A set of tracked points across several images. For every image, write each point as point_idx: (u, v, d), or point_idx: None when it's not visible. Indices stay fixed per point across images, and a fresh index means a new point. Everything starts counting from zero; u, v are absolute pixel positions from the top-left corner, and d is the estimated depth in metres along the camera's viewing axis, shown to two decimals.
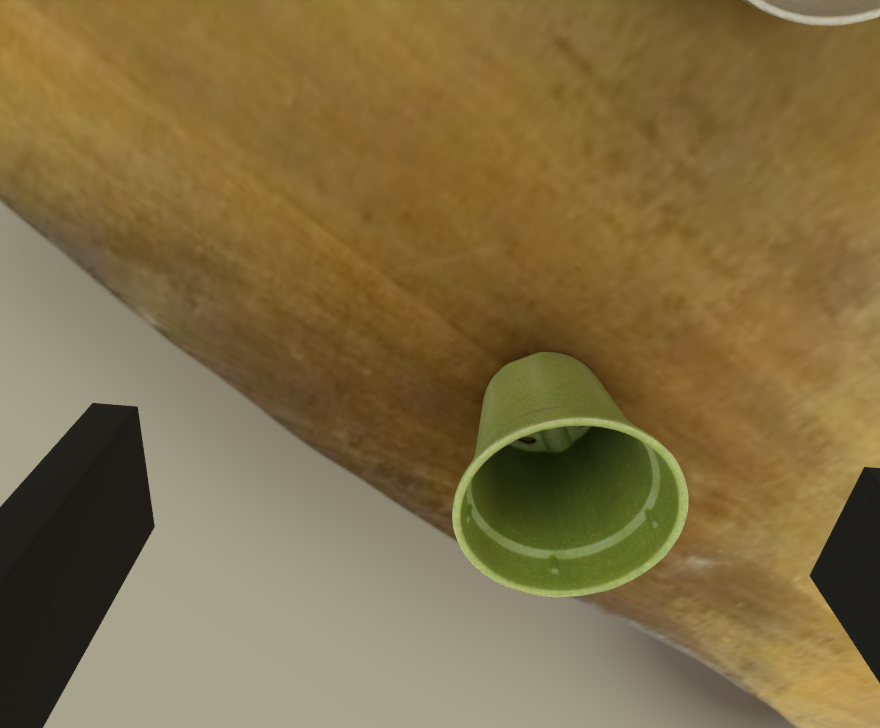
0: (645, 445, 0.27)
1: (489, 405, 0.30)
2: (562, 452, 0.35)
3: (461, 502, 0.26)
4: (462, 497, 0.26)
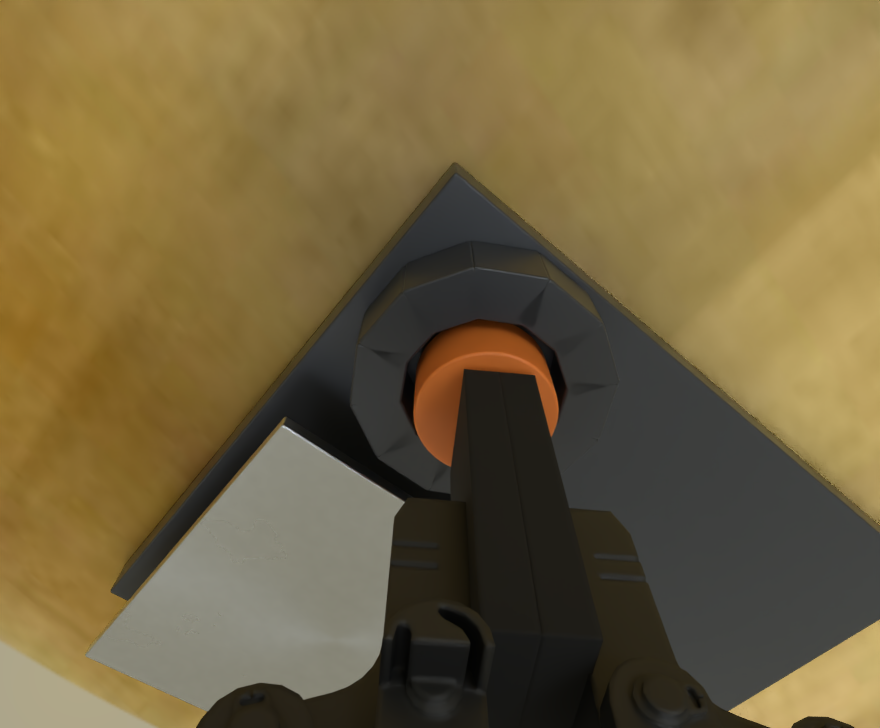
0: None
1: None
2: None
3: None
4: None
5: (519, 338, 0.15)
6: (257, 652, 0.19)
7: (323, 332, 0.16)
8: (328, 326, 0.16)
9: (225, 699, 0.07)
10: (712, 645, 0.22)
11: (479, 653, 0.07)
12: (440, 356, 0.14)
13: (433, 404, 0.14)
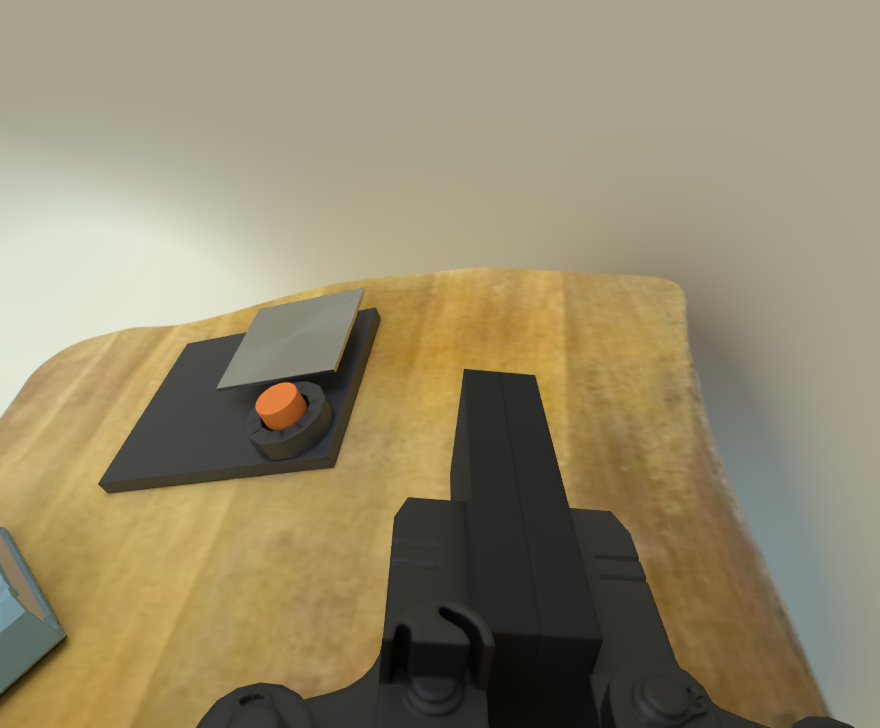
0: None
1: None
2: None
3: None
4: None
5: (279, 423, 0.46)
6: (314, 318, 0.55)
7: (344, 403, 0.49)
8: (343, 405, 0.49)
9: (225, 699, 0.07)
10: (167, 418, 0.55)
11: (479, 653, 0.07)
12: (296, 403, 0.46)
13: (291, 390, 0.46)
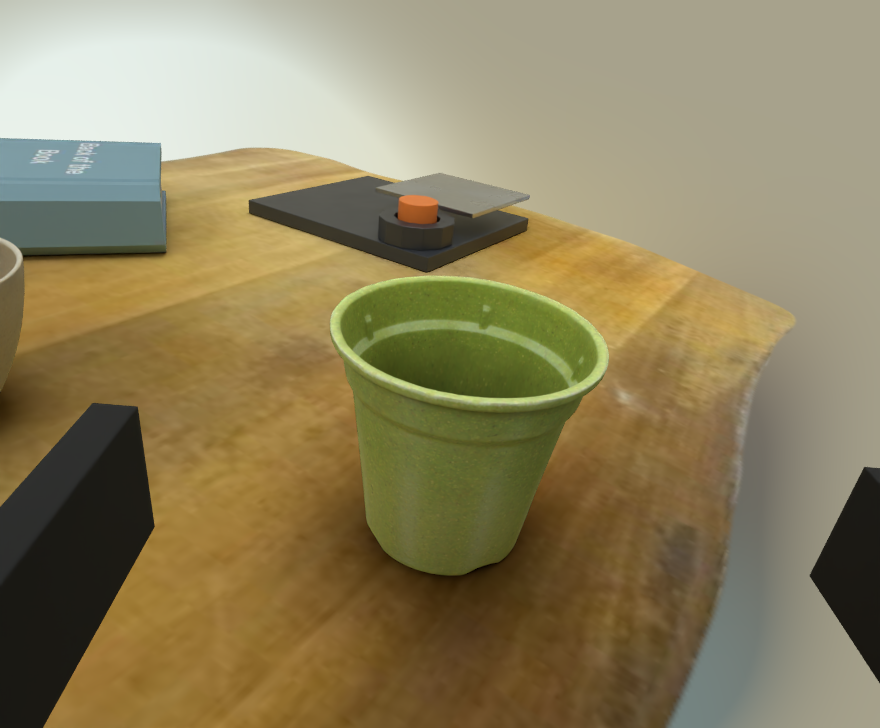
0: (398, 332, 0.26)
1: (410, 512, 0.22)
2: None
3: (468, 396, 0.18)
4: (459, 395, 0.18)
5: (409, 217, 0.52)
6: (478, 191, 0.61)
7: (463, 244, 0.54)
8: (462, 245, 0.54)
9: None
10: (324, 197, 0.63)
11: None
12: (431, 211, 0.52)
13: (433, 202, 0.53)
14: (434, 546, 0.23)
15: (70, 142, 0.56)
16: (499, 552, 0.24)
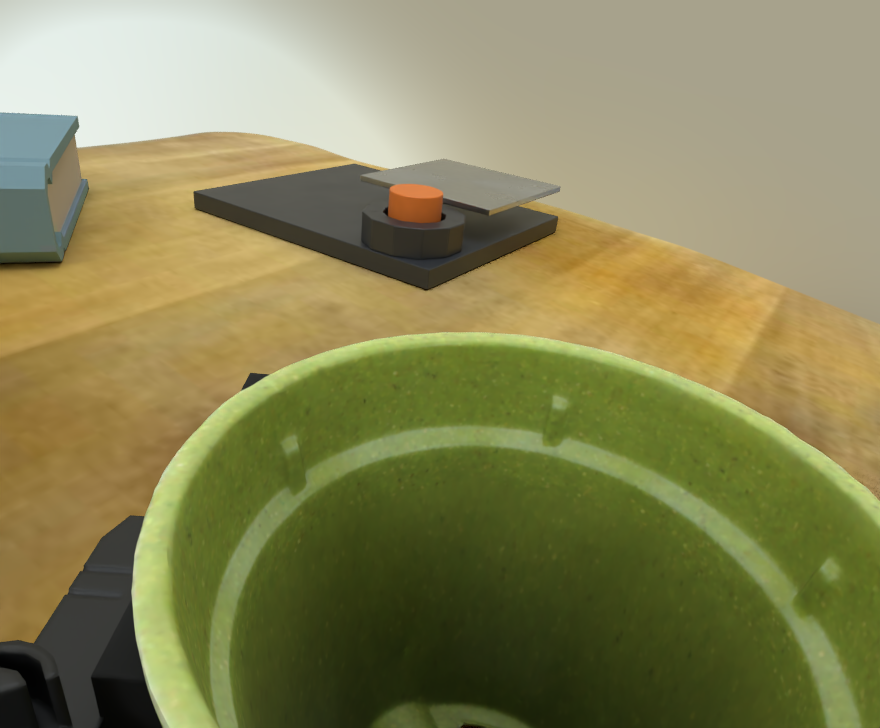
0: (368, 460, 0.11)
1: None
2: None
3: None
4: None
5: (403, 214, 0.38)
6: (494, 181, 0.47)
7: (477, 250, 0.40)
8: (475, 251, 0.40)
9: None
10: (294, 188, 0.49)
11: (48, 689, 0.06)
12: (434, 205, 0.38)
13: (436, 193, 0.39)
14: None
15: None
16: None
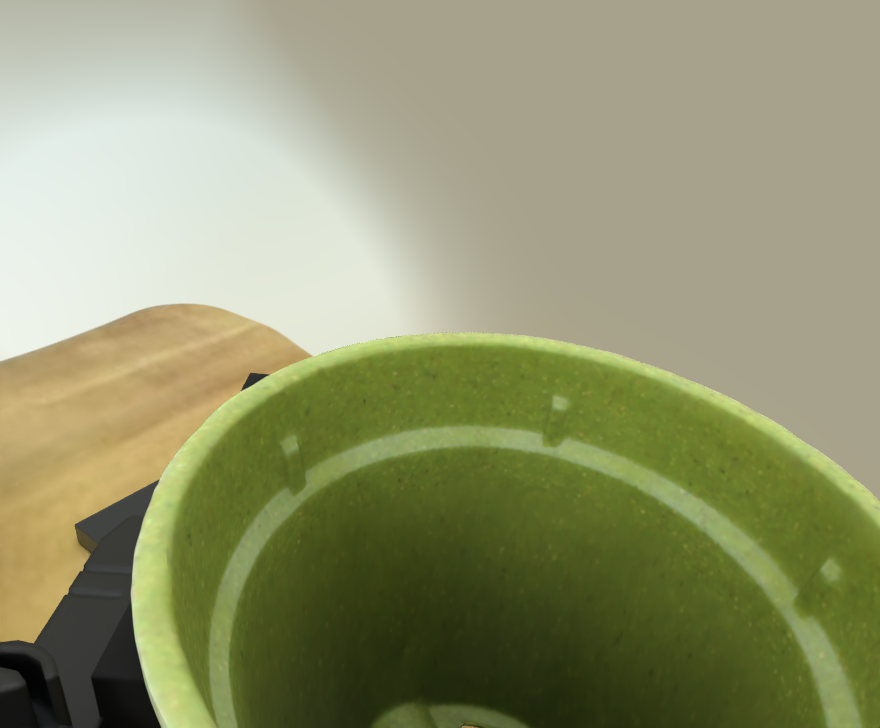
0: (368, 460, 0.11)
1: None
2: None
3: None
4: None
5: None
6: None
7: None
8: None
9: None
10: None
11: (48, 688, 0.06)
12: None
13: None
14: None
15: None
16: None
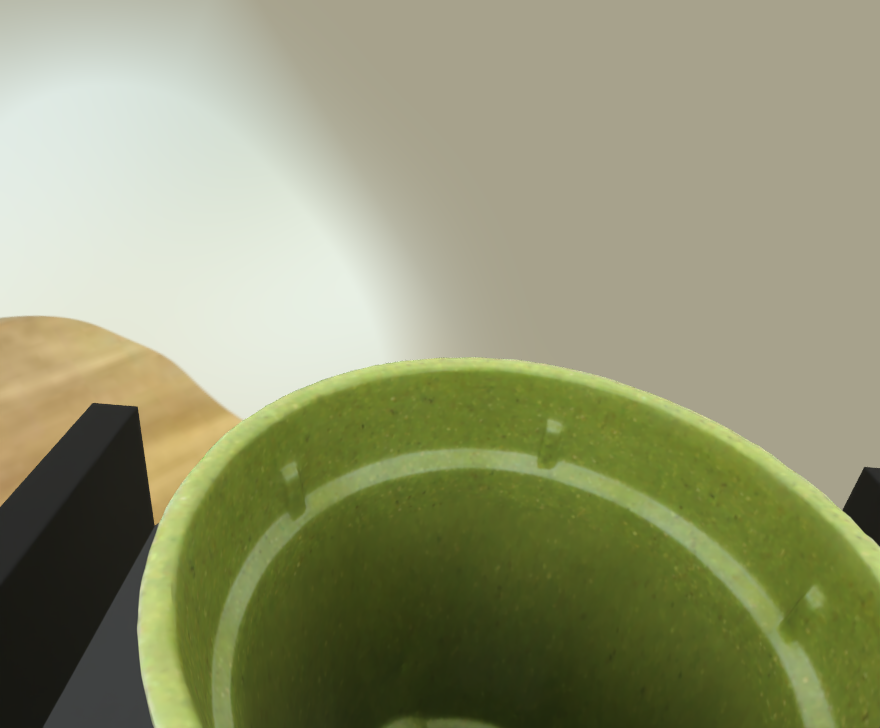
0: (366, 483, 0.12)
1: None
2: None
3: None
4: None
5: None
6: None
7: None
8: None
9: None
10: None
11: None
12: None
13: None
14: None
15: None
16: None
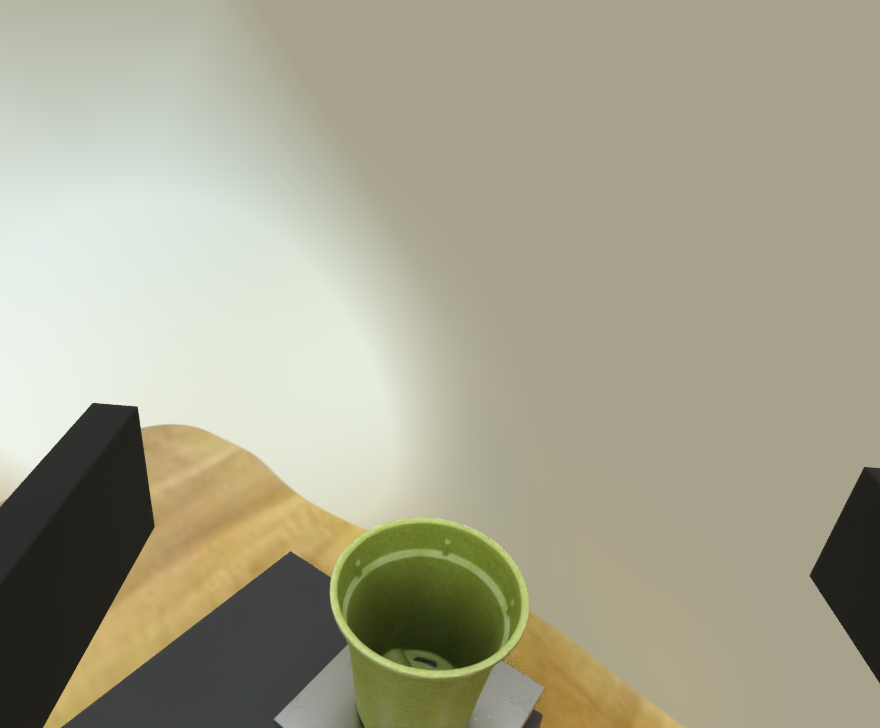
0: (381, 563, 0.34)
1: (387, 720, 0.31)
2: None
3: (423, 670, 0.27)
4: (417, 669, 0.27)
5: None
6: None
7: None
8: None
9: None
10: (195, 682, 0.37)
11: None
12: None
13: None
14: None
15: None
16: None
